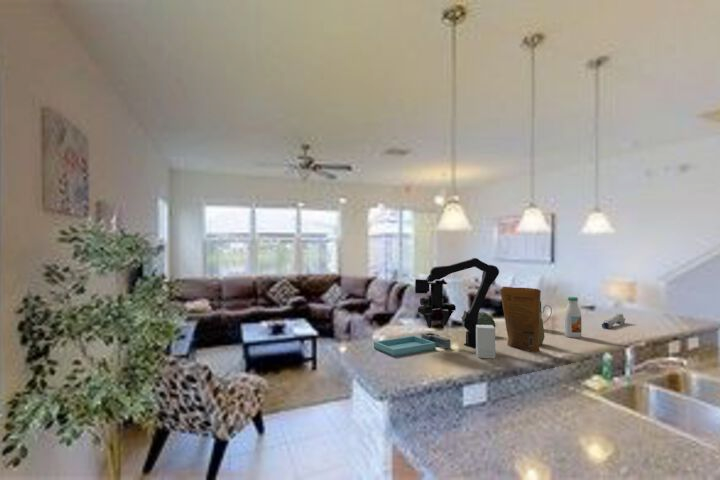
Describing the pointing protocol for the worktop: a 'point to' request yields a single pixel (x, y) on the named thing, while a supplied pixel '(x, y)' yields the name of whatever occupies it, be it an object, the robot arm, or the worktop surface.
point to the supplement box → (485, 341)
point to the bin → (404, 345)
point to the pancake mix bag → (522, 317)
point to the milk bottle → (572, 319)
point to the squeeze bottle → (541, 332)
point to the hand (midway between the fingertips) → (437, 326)
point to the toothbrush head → (614, 321)
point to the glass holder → (543, 311)
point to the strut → (437, 340)
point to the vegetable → (485, 319)
